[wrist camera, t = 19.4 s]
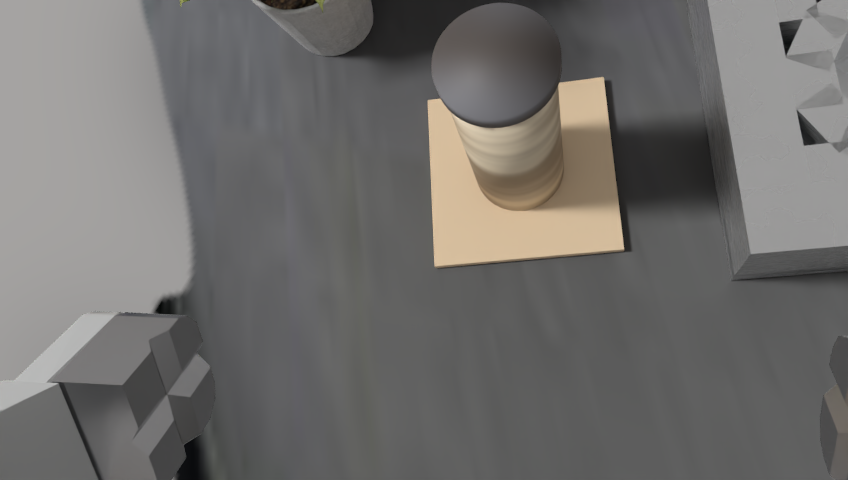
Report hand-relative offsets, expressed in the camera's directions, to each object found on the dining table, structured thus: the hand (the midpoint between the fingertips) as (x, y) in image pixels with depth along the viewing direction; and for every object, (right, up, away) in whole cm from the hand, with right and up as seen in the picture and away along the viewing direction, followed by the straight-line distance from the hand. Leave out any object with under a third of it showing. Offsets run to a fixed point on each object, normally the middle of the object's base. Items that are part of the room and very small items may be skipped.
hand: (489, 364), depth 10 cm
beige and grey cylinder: (+4, +5, +32) cm, 32 cm away
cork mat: (+5, +5, +32) cm, 33 cm away
